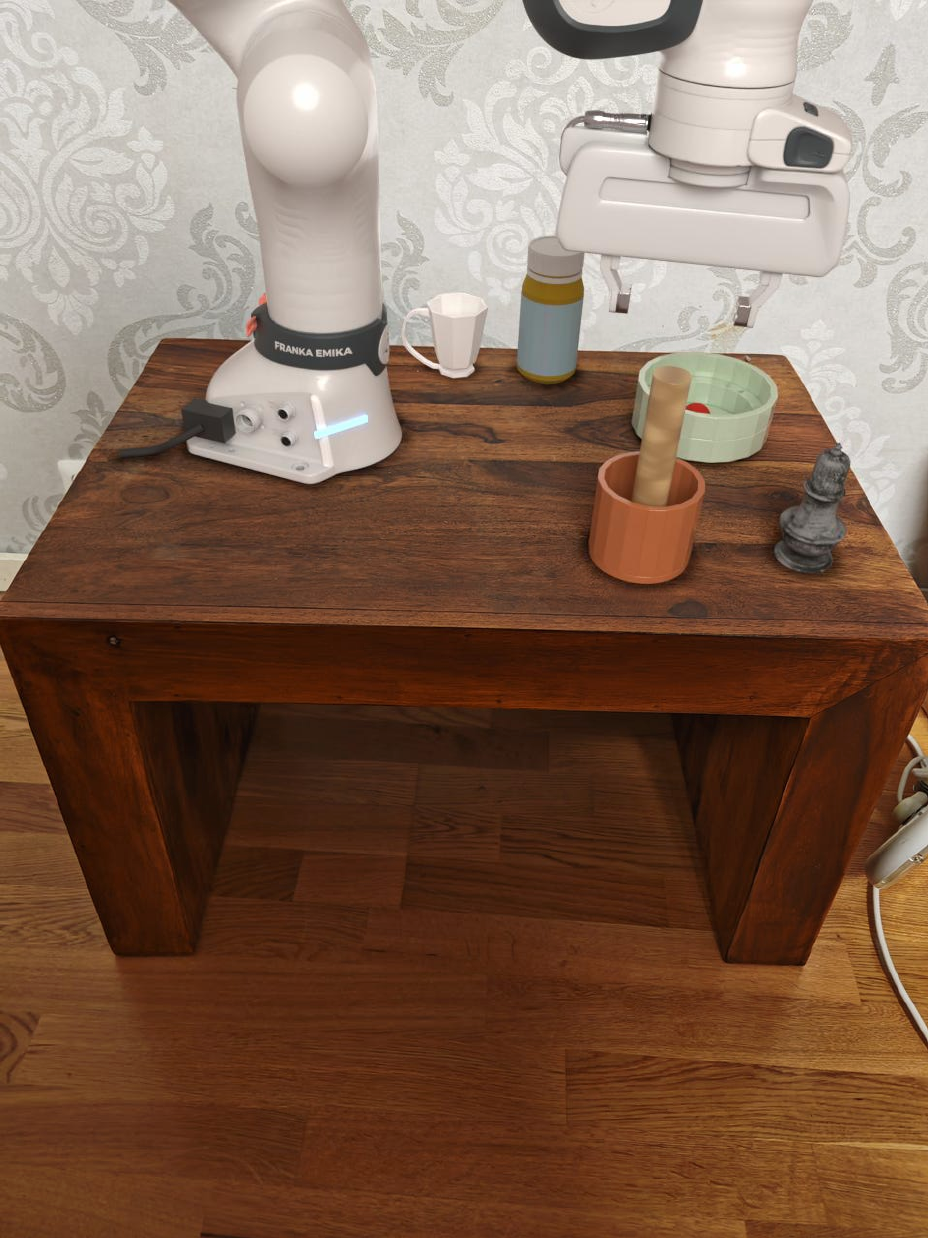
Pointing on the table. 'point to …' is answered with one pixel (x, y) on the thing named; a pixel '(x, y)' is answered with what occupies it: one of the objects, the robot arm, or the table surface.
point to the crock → (644, 523)
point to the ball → (698, 408)
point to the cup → (453, 332)
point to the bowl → (715, 406)
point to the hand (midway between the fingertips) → (680, 317)
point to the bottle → (550, 312)
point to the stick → (661, 435)
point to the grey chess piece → (815, 516)
